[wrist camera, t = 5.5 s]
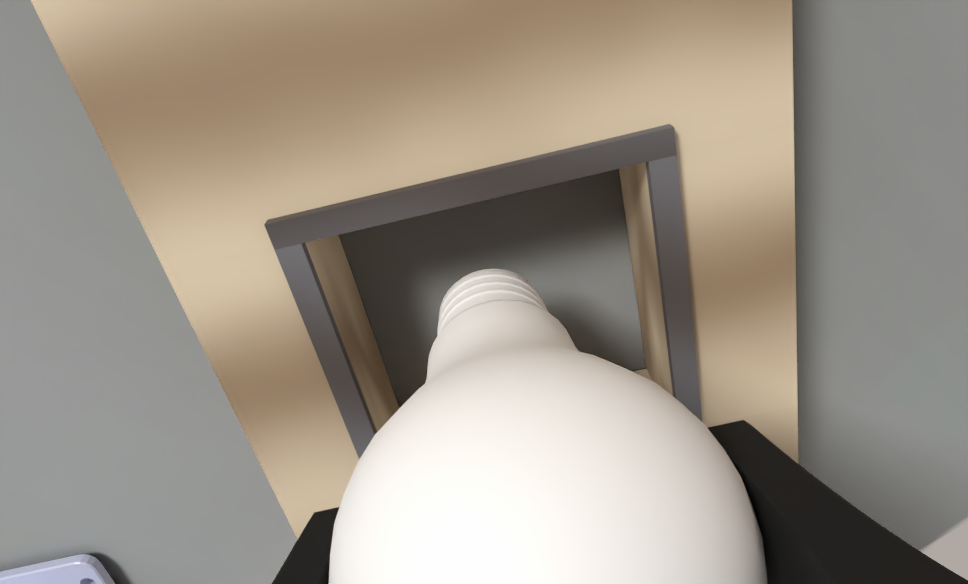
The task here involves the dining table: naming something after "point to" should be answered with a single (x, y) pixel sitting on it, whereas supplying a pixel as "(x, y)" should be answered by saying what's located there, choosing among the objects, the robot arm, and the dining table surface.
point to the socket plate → (444, 182)
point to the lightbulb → (539, 467)
